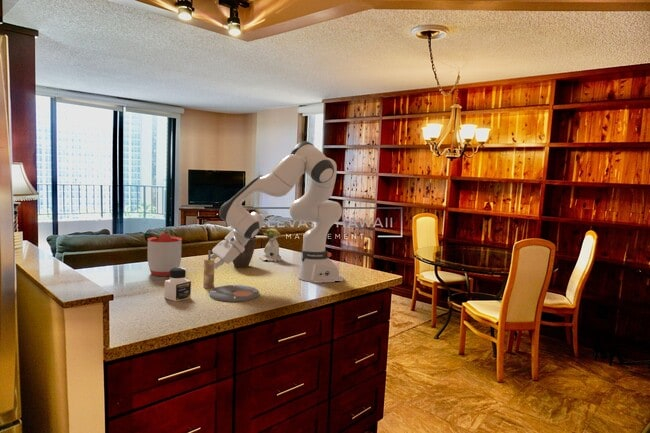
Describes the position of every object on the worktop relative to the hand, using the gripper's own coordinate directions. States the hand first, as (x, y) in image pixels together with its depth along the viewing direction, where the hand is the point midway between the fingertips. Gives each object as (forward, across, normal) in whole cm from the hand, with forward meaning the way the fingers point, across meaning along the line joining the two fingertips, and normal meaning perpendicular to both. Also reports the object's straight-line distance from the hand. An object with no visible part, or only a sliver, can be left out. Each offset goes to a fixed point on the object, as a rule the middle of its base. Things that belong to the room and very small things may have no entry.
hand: (211, 265), depth 182 cm
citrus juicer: (+18, -30, -4) cm, 35 cm away
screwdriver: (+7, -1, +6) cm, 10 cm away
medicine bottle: (+18, +12, -4) cm, 22 cm away
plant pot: (-11, -34, +24) cm, 43 cm away
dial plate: (+2, +14, +11) cm, 18 cm away
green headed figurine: (-26, -46, +39) cm, 66 cm away
